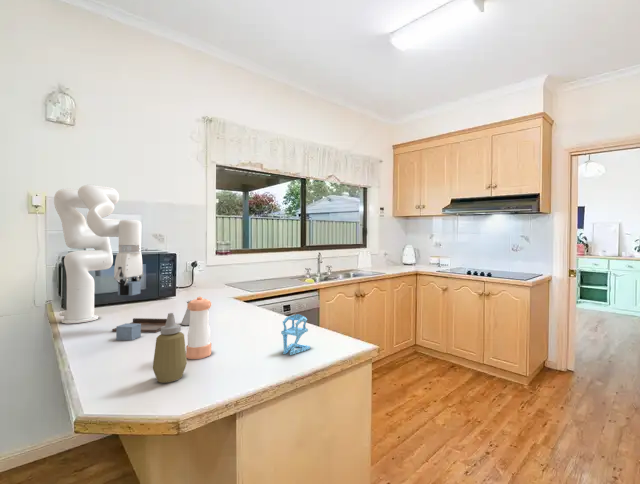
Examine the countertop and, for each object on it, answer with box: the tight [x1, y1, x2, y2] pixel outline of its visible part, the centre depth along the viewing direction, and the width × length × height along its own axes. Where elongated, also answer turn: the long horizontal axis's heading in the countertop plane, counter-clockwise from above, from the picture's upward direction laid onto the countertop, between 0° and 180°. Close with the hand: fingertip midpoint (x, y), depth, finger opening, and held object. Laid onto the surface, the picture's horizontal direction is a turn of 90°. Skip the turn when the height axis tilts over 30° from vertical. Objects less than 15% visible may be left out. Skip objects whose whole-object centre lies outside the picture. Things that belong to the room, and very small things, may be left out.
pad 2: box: [115, 322, 142, 341], centre depth 127 cm, size 6×5×5 cm
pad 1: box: [117, 280, 142, 296], centre depth 138 cm, size 6×5×5 cm
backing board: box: [111, 317, 167, 333], centre depth 142 cm, size 18×12×2 cm, turn 88°
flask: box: [180, 299, 193, 326], centre depth 149 cm, size 7×7×10 cm
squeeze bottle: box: [152, 312, 188, 384], centre depth 92 cm, size 8×8×18 cm
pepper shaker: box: [185, 296, 212, 360], centre depth 110 cm, size 7×7×19 cm
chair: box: [280, 313, 311, 356], centre depth 116 cm, size 8×8×12 cm
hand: (129, 293), depth 138 cm, fingers closed on pad 1, 4 cm apart
